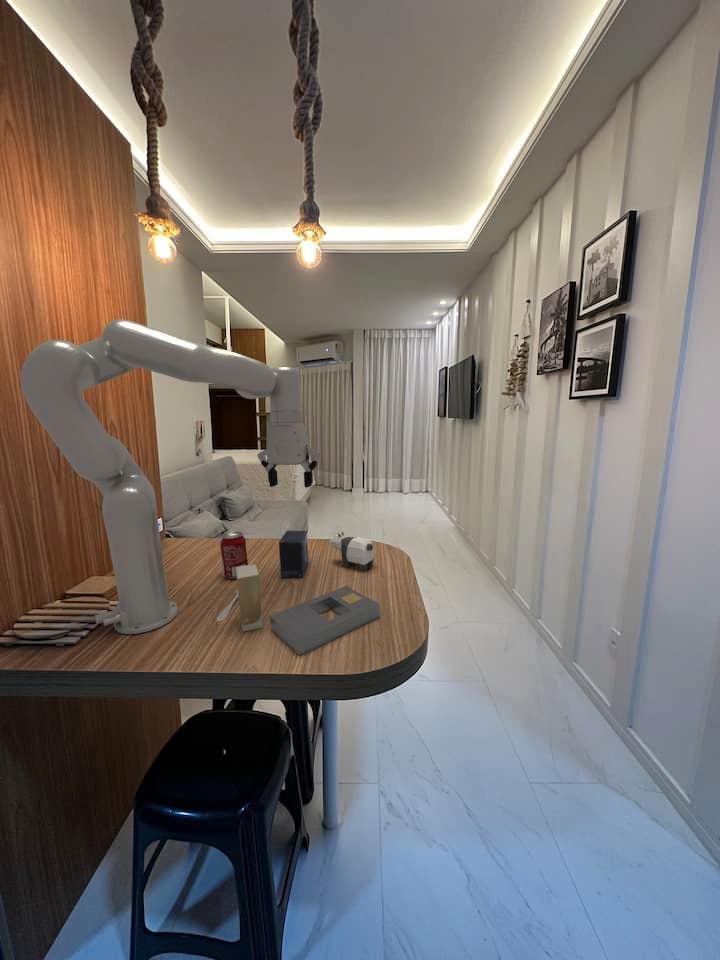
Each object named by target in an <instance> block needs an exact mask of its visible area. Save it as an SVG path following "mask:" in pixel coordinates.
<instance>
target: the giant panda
mask: <svg viewBox="0 0 720 960" xmlns="http://www.w3.org/2000/svg"><path fill="white" fill-rule="evenodd" d="M329 543H331V545H332V547H333V548H334V549H336V550H337V551H340V555H341V561H342V564H341V565H340V567H341V568H344V569H348V568H350V566H351V564H352V565H355V564H359V568H358V572H363V573H366V572H367V571H368V569H371V568H372V569H373V567H374V560H375V546H374V544H373V542H372V541H371V540H370V539H368V538H366V537H363V536H362V537H359V536H358V537H354V536H353V537H351V536H347V537H346V536H345V534H344V531H341V533H340V532H339V533H337V534H335V535H334V536H333V538H331V539H329Z"/></svg>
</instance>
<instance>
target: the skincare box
mask: <svg viewBox="0 0 720 960" xmlns="http://www.w3.org/2000/svg"><path fill="white" fill-rule="evenodd" d="M259 575H260V574H259V571H258V566H257V564H256V563H254V564H248V565H246V566H240V567H236V576H237V579H236V583H237V584H236V585H237V590H238V595H239V596H238V602H239V613H240V624H241V629H242V632H248V631H253V630H257V629H261V628H264V621H263V620H264V618H263V609H262V599H261V598H262V597H261V586H260V584H261V583H260V576H259Z"/></svg>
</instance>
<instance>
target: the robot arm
mask: <svg viewBox="0 0 720 960" xmlns="http://www.w3.org/2000/svg"><path fill="white" fill-rule="evenodd" d="M138 368H140V369H143V370H145V371H150V372H154V373H157V374H160V375H163V376H167V377H169V378H174V379H177V380H181V381H185V382H190V383H206V384H213V385H216V386H217V385H218V386H222V387H226V388H228V389H233V390H236V393H237V394H238V395H240V396H241V397H242V398H244V399H248V400H255V399H261V398H262V399H263V398H269V404H270V405H269V406H270V408H269V409H270V412H269V414H267V415H266V420H267V421H270V423H271V424H270V425H268V427H267V431H266V432H267V433H266V448H265V449H264V450H263V451H260V452H259V453H257V455H256V456H257V458H258V459H259V462H260V464H261V466H262V467H263V468H264V469H265V472H267V479H268V483H269V487H270V488H271V487H272V488H273V487H275V486H277V485H278V484H279V482H278V480H279V479H278V470H277V469H276V468H277V466H278V465H279V466H283V465H284V466H285V465H286V466H293V465H294V466H296V465H297V466H299V465H301V467H302V468H303V469H304V470H305V471H304V472H303V483H304V485H303V487H305V488H307V489H308V488H309V487H312V486H313V483H314V478H313V477H314V476H313V473H314V472H313V471H314V470H315V468H316V467H317V466H318V464H319V462H320V461H321V459H322V455H323V454H322V453H321V452H320V451H318V450H315V449H314V448H312V447H310V445H309V438H308V433H307V429H306V426H305V424H304V423H303V417H302V416H303V415H302V402H301V400H302V399H301V384H300V383H301V381H300V373H299V370H298V369H297V368H295V367H292V366H277V367H273V368H271V367H270V366H269V365H267V364H266V363H264V362H262V361H259V360H256V359H253V358H251V357H250V356H249V357H248V356H245V355H243V354H239V353H237V352H234V351H233V352H232V351H230V350H226V349H223V348H218V347H213V346H210V345H207V344H204V343H198V342H194V341H190V340H188V339H186V338H181V337H179V336H175V335H172V334H170V333H167V332H164V331H161V330H160V329H159V330H158V329H156V328H153V327H150V326H147V325H144V324H142V323H138V322H136V321H132V320H128V319H122V318H120V319H119V318H118V319H114V320H111V321H109V322H108V323H107V324H106V325H105V326H104V328H103V331H102V334H101V336H100V337H97V338H95V339H93V340H91V341H87V342H84V343H81V344H80V345H77V344H74V343H73V342H70V341H67V340H63V339H62V340H61V339H53V340H52V339H51V340H48V341H44V342H42V343H40V344H38V345H37V346H36V347H35V348H33V350H32V351H30V353H29V354H28V356H27V357H26V359H25V360H24V362H23V364H22V368H21V374H20V385H21V391H22V394H23V397H24V400H25V401H26V403H27V405H28V407H29V409H30V410H31V412H32V413H33V414H34V417H36V419H37V420H38V422H39V423H40V424H41V425H42V428H44V430H45V431H46V433H47V434H48V436H49V437H50V438H51V440H52V441H53V442H54V444H55V446H56V447H57V448H58V449H59V451H60V452H61V453H62V454H63V456H64V458H65V459H66V460H67V462H68V463H69V465H70V466H71V468H72V469H73V471H74V472H75V473H76V474H77V475H78V476H80V477H81V478H82V479H84V480H87V481H89V482H93V484H94V485H95V487H96V488H97V489H98V491H99V492H100V493H101V494H102V496H103V500H102V503H101V504H102V505H101V512H102V513H101V514H102V518H103V523H104V527H105V531H106V535H107V540H108V544H109V550H110V551H109V552H110V556H111V560H112V561H111V562H112V566H113V572H114V578H115V584H116V591H117V598H118V602H117V603H116V607H115V608H112V609H111V611H107V612H103V613H102V612H101V613H98V614H96V615H94V618H95V619H94V620H95V624H96V625H99V624H103V627H106V626H109V625H111V624H113V627H114V630H115V631H116V632H117V633H120V634H124V635H133V634H135V635H136V634H137V635H139V634H141V633H146V632H149V631H154V630H157V629H159V628H161V627H163V626H165V625H167V624H168V623H170V622H172V620H173V619H175V618H176V616H177V615H178V613H179V608H178V607H179V606H178V604H177V603H176V602H174V601H171V600H170V598H169V597H170V596H169V590H168V589H169V588H168V582H167V574H166V568H165V561H164V553H163V547H162V539H161V534H160V527H159V526H160V525H159V519H158V507H157V501H156V493H155V489H154V487H153V485H152V483H151V482H150V480H149V479H148V478H147V477H146V475H145V473H144V471H143V470H142V469H141V468H140V466H139V465H138V463H137V462H136V461H135V459H134V458H133V456H132V455H131V453H130V451H129V450H128V449H127V448H126V447H125V445H124V444H123V443H122V441H120V440H119V439H118V438H115V437H114V436H112V435H110V434H109V433H108V432H107V430H106V428H105V427H104V426H103V425H102V423H101V422H100V421H99V419H98V417H97V416H96V414H95V413H94V411H93V410H92V408H91V407H90V406H89V405H88V403H87V402H86V400H85V399H84V397H83V394H82V391H87V390H89V389H92V388H95V387H97V386H99V385H101V384H104V383H107V382H109V381H111V380H114V379H116V378H118V377H120V376H123V375H125V374H128V373H130V372H131V371H134V370H136V369H138ZM310 455H311V456H313V459H312V461H311V462H310Z"/></svg>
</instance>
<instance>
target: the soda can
mask: <svg viewBox="0 0 720 960" xmlns="http://www.w3.org/2000/svg"><path fill="white" fill-rule="evenodd" d="M246 540H247V539H246V538H245V536H244V535H243V532H241V531H230V532H226V533H223V534H222V535H221V540H220V542H219V545H220V555H221V565H222V574H223V577H224V578H226V579H230V580H237V576H236V567H240V566H246V565H249V562H248V553H247V552H248V551H247V543H246Z"/></svg>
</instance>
